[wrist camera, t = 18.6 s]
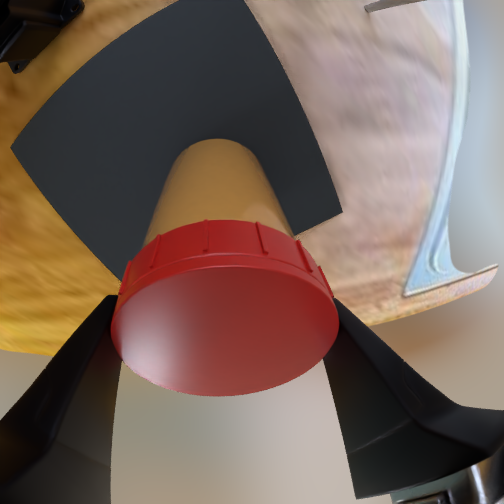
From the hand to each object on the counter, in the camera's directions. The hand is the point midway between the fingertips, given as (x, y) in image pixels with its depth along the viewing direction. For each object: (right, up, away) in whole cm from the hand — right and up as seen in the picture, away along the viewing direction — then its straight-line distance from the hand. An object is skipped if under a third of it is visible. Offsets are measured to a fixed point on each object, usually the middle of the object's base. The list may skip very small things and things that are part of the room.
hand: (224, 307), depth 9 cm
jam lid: (0, -1, -1) cm, 1 cm away
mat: (-4, +7, +7) cm, 11 cm away
